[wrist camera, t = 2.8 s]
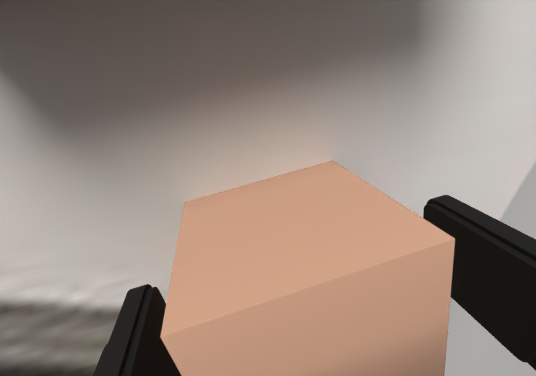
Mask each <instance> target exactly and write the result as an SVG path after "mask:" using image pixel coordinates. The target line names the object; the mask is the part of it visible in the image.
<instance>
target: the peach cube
mask: <svg viewBox="0 0 536 376" xmlns="http://www.w3.org/2000/svg"><path fill="white" fill-rule="evenodd" d="M454 247H455V238H453V237H452V236H450V235H449V234H447V233H445V232H444V231H442V230H441V229H439V228H438V227H436V226H434V225H433V224H431V223H430V222H428V221H427V220H425V219H423V218H422V217H420V216H419V215H417V214H416V213H414V212H413V211H411V210H409V209H408V208H406V207H405V206H403V205H402V204H400V203H398V202H397V201H395V200H394V199H392V198H391V197H389V196H387V195H386V194H384V193H383V192H381V191H380V190H378V189H376V188H375V187H373V186H372V185H370V184H369V183H367V182H365V181H364V180H362V179H361V178H359V177H358V176H356V175H355V174H353V173H351V172H350V171H348V170H347V169H345V168H344V167H342V166H340V165H339V164H337V163H336V162H334V161H329V162H325V163H322V164H318V165H315V166H311V167H308V168H304V169H301V170H297V171H294V172H290V173H287V174H283V175H279V176H276V177H272V178H269V179H265V180H262V181H258V182H255V183H251V184H248V185H244V186H240V187H237V188H233V189H230V190H226V191H223V192H219V193H216V194H212V195H209V196H205V197H202V198H198V199H194V200H191V201H187V202H185V204H184V209H183V215H182V220H181V226H180V231H179V237H178V242H177V248H176V253H175V259H174V264H173V270H172V275H171V281H170V286H169V292H168V297H167V303H166V308H165V314H164V319H163V325H162V331H161V336H160V337H161V339H162V341H163V343H164V345H165V346H166V348H167V350H168V352H169V354H170V355H171V357H172V359H173V361H174V363H175V365H176V366H177V368H178V370H179V372H180V374H181V375H182V376H444V371H445V359H446V346H447V334H448V321H449V309H450V296H451V284H452V272H453V259H454Z"/></svg>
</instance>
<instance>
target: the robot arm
mask: <svg viewBox="0 0 536 376" xmlns="http://www.w3.org/2000/svg"><path fill="white" fill-rule="evenodd" d="M423 219H425V220H427V221H428V222H430V223H431V224H433V225H434V226H436V227H438V228H439V229H441V230H442V231H444V232H445V233H447V234H449V235H450V236H452V237H453V238H455V247H454V259H453V272H452V284H451V296H450V297H452V298H453V299H454V300H455V301H456V302H457V303H458V304H459V305H460V306H461V307H462V308H464V309H465V310H466V311H467V312H468V313H469V314H470V315H471V316H472V317H473V318H474V319H475V320H477V322H479V323H480V324H481V325H482V326H483V327H484V328H485V329H486V330H487V331H488V332H489V333H490V334H492V335H493V336H494V337H495V338H496V339H497V340H498V341H499V342H500V343H501V344H502V345H503V346H504V347H506V348H507V349H508V350H509V351H510V352H511V353H512V354H513V355H514V356H516V357H517V358H518V359H519V360H521V361H523V362H527V363H529V365H531V366H532V367H533V368H534V369H535V370H536V239H534V238H532V237H529V236H528V235H525V234H524V233H522V232H520V231H518V230H516V229H514V228H512V227H510V226H508V225H506V224H504V223H502V222H500V221H498V220H496V219H494V218H492V217H490V216H488V215H486V214H484V213H483V212H481V211H479V210H477V209H475V208H473V207H471V206H469V205H467V204H465V203H463V202H461V201H459V200H457V199H455V198H453V197H451V196H449V195H443V196H440V197H436V198H433V199H430V200H428V202H427V205H425V207H424V217H423ZM165 308H166V303H165V301H164V299H163V297H162V295H161V293H160V291H159V290H158V288H157V287H153V288H152V287H151V285H149V284H147V285H143V286H140V287H137V288H133V289H130V290H129V291H128V293H127V295H126V298H125V300H124V303H123V306H122V308H121V311H120V313H119V316H118V319H117V321H116V324H115V327H114V329H113V332H112V335H111V337H110V340H109V342H108V344H107V345H106V346H105V348H104V350H103V352H102V354H101V357H100V359H99V362H98V365H97V367H96V370H95V372H94V375H93V376H182V375H181V374H180V372H179V370H178V368H177V366H176V365H175V363H174V361H173V359H172V357H171V355H170V354H169V352H168V350H167V348H166V346H165V345H164V343H163V341H162V339H161V337H160V336H161V331H162V325H163V319H164V314H165Z"/></svg>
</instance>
